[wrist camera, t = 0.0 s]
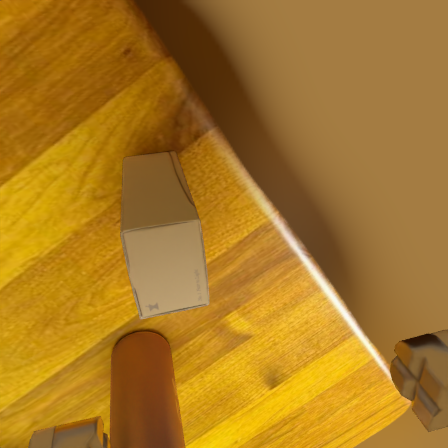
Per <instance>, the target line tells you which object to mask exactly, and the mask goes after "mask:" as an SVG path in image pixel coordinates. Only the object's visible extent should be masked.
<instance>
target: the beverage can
mask: <svg viewBox="0 0 448 448" xmlns="http://www.w3.org/2000/svg"><path fill="white" fill-rule="evenodd" d="M110 445H111V448H185V441H184V435H183V428H182V422H181V415H180V409H179V402H178V396H177V389H176V382H175V376H174V369H173V363H172V356H171V350H170V346H169V344H168V342H167V341H166V340H165V339H164V338H163V337H161V336H160V335H158V334H156V333H153V332H148V331H141V332H135V333H132V334H130V335H128V336H126V337H124V338H123V339H122V340H121V341H120V342H119V343H118V344H117V345H116V346H115V348H114V349H113V352H112V355H111V399H110Z"/></svg>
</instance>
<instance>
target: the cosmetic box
mask: <svg viewBox="0 0 448 448" xmlns="http://www.w3.org/2000/svg"><path fill="white" fill-rule="evenodd" d="M120 231H121V232H120V235H121V240H122V246H123V251H124V255H125V260H126V265H127V269H128V274H129V278H130V282H131V286H132V290H133V294H134V298H135V302H136V305H137V309H138V312H139V317H140V319H145V318H149V317H155V316H160V315H165V314H170V313H175V312H180V311H185V310H189V309H194V308H198V307H203V306H207V305H208V304H209V287H208V276H207V266H206V258H205V250H204V242H203V235H202V229H201V222H200V219H199V216H198V213H197V210H196V207H195V204H194V202H193V199H192V196H191V193H190V190H189V187H188V184H187V181H186V179H185V176H184V173H183V170H182V167H181V164H180V162H179V159H178V156H177V154H176V152H175V151H171V152H161V153H153V154H145V155H137V156H130V157H125V158H124V159H123V175H122V203H121V228H120Z"/></svg>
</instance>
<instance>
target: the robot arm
mask: <svg viewBox="0 0 448 448" xmlns="http://www.w3.org/2000/svg"><path fill="white" fill-rule="evenodd" d="M394 351H395V353H396V354H397V356H396V357H395V358H394V360H393V361H392V362H391V367H390V373H391V377H392V381H393V383H394V385H395V387H396V388H397V390H398V391H399V393H400V394H401V395H402V396H403V397H405V398H407V399H409V400H411V401H412V410H413V412H414V413H415V414H416V415H417V417H418V419H419V420H420V421H421V423H422V424H423V425H424V427H425V428H426V429H427V431H428V432H430V431H434V430H438V429H441V428H445V427H448V330H442V331H438V332H435V333H431V334H425V335H421V336H417V337H414V338H410V339H406V340H402V341H399V342H398V343H397V344H396V345H395V349H394ZM103 428H104V424H103V421H102V419H101V416H98V417H93V418H89V419H85V420H80V421H76V422H72V423H67V424H63V425H59V426H54V427H50V428H46V429H41V430H37V431H34V433H33V435H32V437H31V439H30V443H29V448H111V445H110V440H109V437H108V435H107V434H105V433H103Z"/></svg>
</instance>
